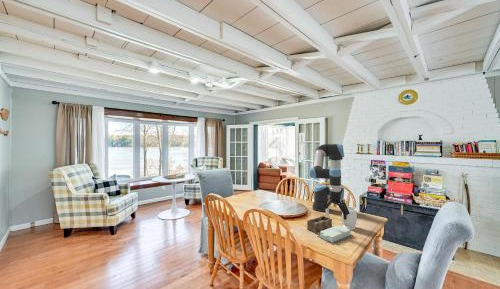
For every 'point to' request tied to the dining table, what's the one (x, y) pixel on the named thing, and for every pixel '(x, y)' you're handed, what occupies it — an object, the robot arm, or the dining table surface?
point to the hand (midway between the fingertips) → (335, 220)
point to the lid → (335, 233)
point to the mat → (337, 240)
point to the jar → (351, 218)
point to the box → (319, 224)
